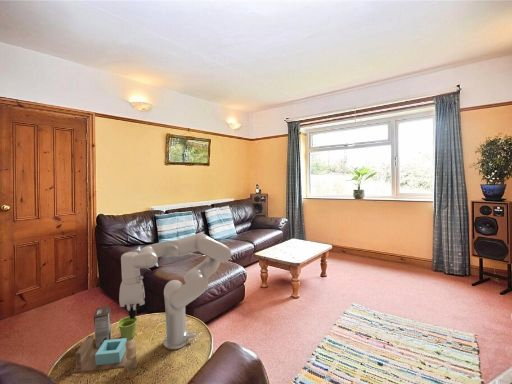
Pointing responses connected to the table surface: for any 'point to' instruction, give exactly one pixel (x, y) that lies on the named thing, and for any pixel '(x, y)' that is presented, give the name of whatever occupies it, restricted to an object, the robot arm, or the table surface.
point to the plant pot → (127, 327)
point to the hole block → (111, 351)
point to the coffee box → (102, 325)
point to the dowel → (131, 355)
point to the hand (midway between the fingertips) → (132, 317)
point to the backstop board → (92, 358)
